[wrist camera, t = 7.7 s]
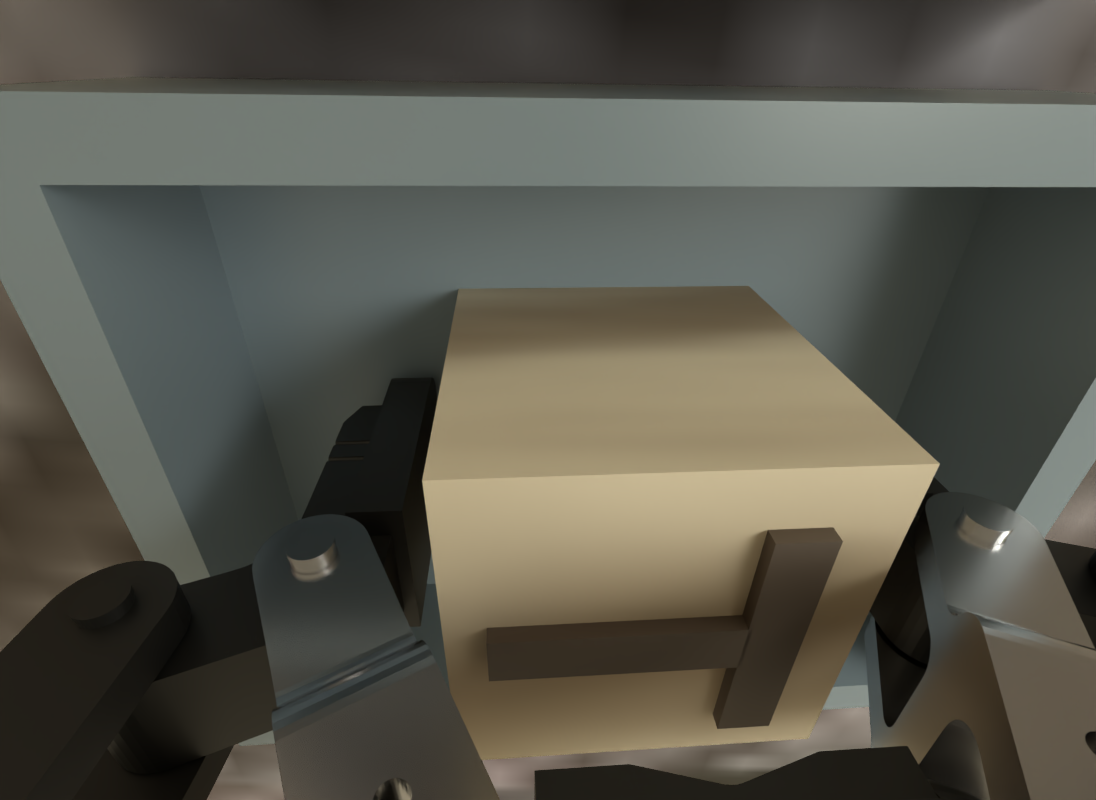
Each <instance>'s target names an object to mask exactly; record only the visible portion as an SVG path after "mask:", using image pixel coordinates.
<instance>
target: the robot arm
mask: <svg viewBox="0 0 1096 800" xmlns="http://www.w3.org/2000/svg"><path fill="white" fill-rule="evenodd" d="M436 405H437V393H436V386H435V381H434V378H433V377H427V378H392V379H391V381H390V384H389V387H388V390H387V392H386V395H385V398H384V401H383V404H382V405H374V406H362V407H361V408H359V409H358V410H357V411H356V412H355V413H354V414H353V415H351V416H350V417H349V418H348V419H347V420H346V421H344V422H343V425H342V427H341V429H340V432H339V434H338V436H337V439H336V441H335V445H333V448H332V450H331V452H330V455H329V457H328V458H329V460H328V461H326V464H325V466H324V468H323V471H322V473H321V475H320V478H319V480H318V482H317V484H316V487H315V489H314V491H313V494H312V496H311V498H310V500H309V503H308V505H307V507H306V510H305V512H304V514H303V516H302V519H301V520H298V521H296V522H293V523H291V524H289V525H287V526H285V527H283V528H282V529H280V530H279V531H277V532H276V533H274V534H273V535H272V536H271V537H270V538H268V539H267V541H266V542H265V543H264V544H263V545H262V546H261V548H260V549H259V550H258V552H257V554H256V556H255V558H254V561H253V563H252V564H250V565H247V566H245V567H242V568H239V569H236V570H233V571H229V572H226V573H222V574H218V575H215V576H211V577H208V578H204V579H200V580H197V581H193V582H189V583H186V584H182V585H180V584H179V582H178V580H177V578H176V576H175V574H174V572H173V571H172V570H171V569H170V568H169V567H167V566H165V565H164V564H161V563H158V562H152V561H133V562H126V563H122V564H117V565H114V566H111V567H108V568H105V569H102V570H99V571H97V572H95V573H92V574H90V575H88V576H86V577H84V578H82V579H81V580H79V581H77V582H75V583H74V584H72V585H71V586H69V587H68V588H66V589H65V590H63V591H62V592H61V593H59V594H58V595H57V596H56V597H55V598H53V599H52V600H51V601H50V602H49V603H48V604H47V605H46V606H45V607H44V608H43V609H42V610H41V611H40V612H39V613H38V614H37V615H36V616H35V617H34V618H33V619H32V620H31V621H30V622H29V623H28V624H27V625H26V626H25V627H24V628H23V629H22V630H21V631H20V633H19V634H18V635H17V636H16V637H15V638H14V639H13V640H12V641H11V642H10V643H9V644H8V645H7V646H6V647H5V648H4V649H3V650H2V651H1V652H0V800H206V799H207V797H208V796H209V794H210V792H211V790H212V788H213V786H214V784H215V782H216V780H217V778H218V776H219V774H220V772H221V770H222V768H223V766H224V764H225V762H226V760H227V758H228V756H229V754H230V752H231V750H232V748H233V746H234V745H235V744H238V743H240V742H243V741H246V740H248V739H251V738H254V737H256V736H259V735H262V734H264V733H267V732H270V731H272V730H273V734H274V740H275V746H276V752H277V758H278V763H279V769H280V775H281V781H282V786H283V792H284V798H285V800H500V799H499V797H498V795H497V793H496V790H495V788H494V786H493V784H492V782H491V780H490V777H489V775H488V773H487V771H486V769H485V767H484V764H483V762H482V760H481V758H480V756H479V754H478V751H477V749H476V747H475V745H474V743H473V741H472V738H471V736H470V734H469V732H468V730H467V728H466V725H465V723H464V721H463V719H462V717H461V715H460V712H459V710H458V708H457V706H456V704H455V702H454V700H453V697H452V695H451V693H450V691H449V689H448V687H447V684H446V682H445V680H444V678H443V676H442V674H441V671H440V669H439V667H438V665H437V663H436V661H435V659H434V656H433V654H432V653H431V651H430V649H429V647H428V646H427V644H426V643H425V642H424V641H423V640H420V641H418V642H417V640H416V639H415V637H414V635H413V633H412V631H411V628H410V627H420V626H421V621H422V614H423V607H424V600H425V593H426V586H427V579H428V572H429V565H430V558H431V544H430V536H429V529H428V521H427V514H426V506H425V499H424V491H423V483H422V479H423V473H424V468H425V463H426V458H427V452H428V447H429V442H430V437H431V431H432V426H433V421H434V416H435V410H436ZM870 613H871V614H872V615H871V617H870V619H869V621H868V623H867V625H866V628H865V635H864V637H865V652H866V667H867V681H868V696H869V711H870V725H871V748H865V749H850V750H835V751H820V752H817V753H814V754H812V755H810V756H807V757H805V758H802V759H800V760H798V761H795V762H793V763H790V764H788V765H786V766H783V767H781V768H778V769H776V770H774V771H771V772H769V773H766V774H764V775H762V776H759V777H757V778H754V779H752V780H750V781H747V782H745V783H742V784H738V785H724V784H719V783H714V782H710V781H705V780H700V779H696V778H691V777H686V776H682V775H677V774H672V773H668V772H663V771H658V770H654V769H649V768H644V767H639V766H635V765H630V764H627V765H612V766H597V767H583V768H568V769H553V770H538V771H535V800H1096V549H1094V548H1088V547H1083V546H1077V545H1072V544H1066V543H1061V542H1056V541H1050V540H1045V539H1044V538H1043V536H1042V534H1041V533H1040V532H1039V531H1038V530H1037V528H1036V527H1035V526H1033V525H1032V524H1031V523H1030V522H1029V521H1028V520H1026V519H1025V518H1024V517H1022V516H1021V515H1019V514H1018V513H1016V512H1015V511H1013V510H1011V509H1009V508H1007V507H1006V506H1004V505H1002V504H999V503H997V502H995V501H992V500H989V499H987V498H984V497H980V496H977V495H973V494H968V493H961V492H949V491H948V490H947V489H946V488H945V487H944V486H943V485H942V484H941V483H940V482H939V481H938V480H937V479H936V478H935V477H933V479H932V482H931V484H930V486H929V488H928V490H927V492H926V494H925V496H924V498H923V500H922V502H921V504H920V507H919V509H918V511H917V513H916V515H915V517H914V519H913V521H912V523H911V525H910V527H909V529H908V532H907V534H906V536H905V538H904V540H903V542H902V544H901V546H900V548H899V550H898V552H897V554H896V557H895V559H894V561H893V563H892V565H891V567H890V569H889V571H888V573H887V575H886V577H885V580H884V582H883V584H882V586H881V588H880V590H879V592H878V594H877V596H876V598H875V600H874V602H873V605H872V607H871V609H870Z"/></svg>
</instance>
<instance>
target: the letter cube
mask: <svg viewBox="0 0 1096 800" xmlns="http://www.w3.org/2000/svg"><path fill="white" fill-rule="evenodd" d="M939 465H940V463H939V462H937V461H936V460H935V459H934V458H933V457H932V456H931V455H930V454H929V453H928V452H927V451H926V450H925V449H923V448H922V447H921V446H920V445H919V444H918V443H917V442H916V441H915V440H914V439H913V438H912V437H911V436H910V435H908V434H907V433H906V432H905V431H904V430H903V429H902V428H901V427H900V426H899V425H898V424H897V423H896V422H894V421H893V420H892V419H891V418H890V417H889V416H888V415H887V414H886V413H885V412H884V411H883V410H882V409H881V408H879V407H878V406H877V405H876V404H875V403H874V402H873V401H872V400H871V399H870V398H869V397H868V396H867V395H865V394H864V393H863V392H862V391H861V390H860V389H859V388H858V387H857V386H856V385H855V384H854V383H853V382H852V381H850V380H849V379H848V378H847V377H846V376H845V375H844V374H843V373H842V372H841V371H840V370H839V369H838V368H836V367H835V366H834V365H833V364H832V363H831V362H830V361H829V360H828V359H827V358H826V357H825V356H824V355H823V354H821V353H820V352H819V351H818V350H817V349H816V348H815V347H814V346H813V345H812V344H811V343H810V342H809V341H807V340H806V339H805V338H804V337H803V336H802V335H801V334H800V333H799V332H798V331H797V330H796V329H795V328H794V327H792V326H791V325H790V324H789V323H788V322H787V321H786V320H785V319H784V318H783V317H782V316H781V315H780V314H778V313H777V312H776V311H775V310H774V309H773V308H772V307H771V306H770V305H769V304H768V303H767V302H766V301H764V300H763V299H762V298H761V297H760V296H759V295H758V294H757V293H756V292H755V291H754V290H753V289H752V288H751V287H749V286H683V287H583V288H484V289H459V290H458V295H457V300H456V305H455V311H454V316H453V321H452V326H451V332H450V337H449V342H448V347H447V353H446V358H445V363H444V368H443V374H442V379H441V384H440V389H439V395H438V400H437V405H436V410H435V416H434V421H433V426H432V431H431V437H430V442H429V447H428V452H427V458H426V463H425V468H424V473H423V479H422V483H423V491H424V499H425V506H426V514H427V521H428V529H429V536H430V544H431V552H432V559H433V567H434V574H435V582H436V589H437V597H438V605H439V612H440V620H441V627H442V635H443V642H444V650H445V658H446V665H447V673H448V680H449V688H450V693H451V695H452V697H453V700H454V702H455V704H456V706H457V708H458V710H459V712H460V715H461V717H462V719H463V721H464V723H465V725H466V728H467V730H468V732H469V734H470V736H471V738H472V741H473V743H474V745H475V747H476V749H477V751H478V754H479V756H480V758H481V760H488V759H503V758H519V757H534V756H549V755H564V754H580V753H595V752H610V751H625V750H641V749H656V748H671V747H686V746H702V745H717V744H732V743H747V742H763V741H778V740H793V739H808V738H809V736H810V734H811V732H812V730H813V728H814V725H815V723H816V721H817V719H818V717H819V715H820V713H821V711H822V709H823V707H824V705H825V703H826V700H827V698H828V696H829V694H830V692H831V690H832V688H833V686H834V684H835V682H836V680H837V677H838V675H839V673H840V671H841V669H842V667H843V665H844V663H845V661H846V659H847V657H848V655H849V652H850V650H851V648H852V646H853V644H854V642H855V640H856V638H857V636H858V634H859V632H860V630H861V627H862V625H863V623H864V621H865V619H866V617H867V615H868V613H869V611H870V609H871V607H872V605H873V602H874V600H875V598H876V596H877V594H878V592H879V590H880V588H881V586H882V584H883V582H884V580H885V577H886V575H887V573H888V571H889V569H890V567H891V565H892V563H893V561H894V559H895V557H896V554H897V552H898V550H899V548H900V546H901V544H902V542H903V540H904V538H905V536H906V534H907V532H908V529H909V527H910V525H911V523H912V521H913V519H914V517H915V515H916V513H917V511H918V509H919V507H920V504H921V502H922V500H923V498H924V496H925V494H926V492H927V490H928V488H929V486H930V484H931V482H932V479H933V477H934V475H935V473H936V471H937V469H938V467H939Z"/></svg>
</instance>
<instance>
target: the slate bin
mask: <svg viewBox="0 0 1096 800" xmlns="http://www.w3.org/2000/svg"><path fill="white" fill-rule="evenodd" d="M0 280H1V282H2V284H3V286H4V288H5V290H6V292H7V294H8V296H9V298H10V300H11V302H12V304H13V305H14V307H15V309H16V311H17V313H18V315H19V317H20V319H21V321H22V323H23V325H24V327H25V329H26V331H27V333H28V335H29V337H30V339H31V340H32V342H33V344H34V346H35V348H36V350H37V352H38V354H39V356H40V358H41V360H42V362H43V364H44V366H45V368H46V370H47V372H48V374H49V375H50V377H51V379H52V381H53V383H54V385H55V387H56V389H57V391H58V393H59V395H60V397H61V399H62V401H63V403H64V405H65V407H66V409H67V410H68V412H69V414H70V416H71V418H72V420H73V422H74V424H75V426H76V428H77V430H78V432H79V434H80V436H81V438H82V440H83V442H84V444H85V445H86V447H87V449H88V451H89V453H90V455H91V457H92V459H93V461H94V463H95V465H96V467H97V469H98V471H99V473H100V475H101V477H102V479H103V480H104V482H105V484H106V486H107V488H108V490H109V492H110V494H111V496H112V498H113V500H114V502H115V504H116V506H117V508H118V510H119V512H120V514H121V515H122V517H123V519H124V521H125V523H126V525H127V527H128V529H129V531H130V533H131V535H132V537H133V539H134V541H135V543H136V545H137V547H138V549H139V550H140V552H141V554H142V556H143V558H144V560H145V561H152V562H158V563H161V564H164V565H165V566H167V567H169V568H170V569H171V570H172V571H173V572H174V574H175V576H176V578H177V580H178V582H179V584H180V585H182V584H186V583H189V582H193V581H197V580H200V579H204V578H208V577H211V576H215V575H218V574H222V573H226V572H229V571H233V570H236V569H239V568H242V567H245V566H247V565H250V564H252V563H253V561H254V558H255V556H256V554H257V552H258V550H259V549H260V548H261V546H262V545H263V544H264V543H265V542H266V541H267V539H268V538H270V537H271V536H272V535H273V534H274V533H276V532H277V531H279V530H280V529H282V528H283V527H285V526H287V525H289V524H291V523H293V522H296V521H298V520H301V519H302V516H303V514H304V512H305V510H306V507H307V505H308V503H309V500H310V498H311V496H312V494H313V491H314V489H315V487H316V484H317V482H318V480H319V478H320V475H321V473H322V471H323V468H324V466H325V464H326V461H328V460H329V458H328V457H329V455H330V452H331V450H332V448H333V445H335V441H336V439H337V436H338V434H339V432H340V429H341V427H342V425H343V422H344V421H346V420H347V419H348V418H349V417H350V416H351V415H353V414H354V413H355V412H356V411H357V410H358V409H359V408H361V407H362V406H374V405H382V404H383V401H384V398H385V395H386V392H387V390H388V387H389V384H390V381H391V379H392V378H427V377H433V378H434V381H435V386H436V393H437V400H438V395H439V389H440V384H441V379H442V374H443V368H444V363H445V358H446V353H447V347H448V342H449V337H450V332H451V326H452V321H453V316H454V311H455V305H456V300H457V295H458V290H459V289H484V288H583V287H683V286H749V287H751V288H752V289H753V290H754V291H755V292H756V293H757V294H758V295H759V296H760V297H761V298H762V299H763V300H764V301H766V302H767V303H768V304H769V305H770V306H771V307H772V308H773V309H774V310H775V311H776V312H777V313H778V314H780V315H781V316H782V317H783V318H784V319H785V320H786V321H787V322H788V323H789V324H790V325H791V326H792V327H794V328H795V329H796V330H797V331H798V332H799V333H800V334H801V335H802V336H803V337H804V338H805V339H806V340H807V341H809V342H810V343H811V344H812V345H813V346H814V347H815V348H816V349H817V350H818V351H819V352H820V353H821V354H823V355H824V356H825V357H826V358H827V359H828V360H829V361H830V362H831V363H832V364H833V365H834V366H835V367H836V368H838V369H839V370H840V371H841V372H842V373H843V374H844V375H845V376H846V377H847V378H848V379H849V380H850V381H852V382H853V383H854V384H855V385H856V386H857V387H858V388H859V389H860V390H861V391H862V392H863V393H864V394H865V395H867V396H868V397H869V398H870V399H871V400H872V401H873V402H874V403H875V404H876V405H877V406H878V407H879V408H881V409H882V410H883V411H884V412H885V413H886V414H887V415H888V416H889V417H890V418H891V419H892V420H893V421H894V422H896V423H897V424H898V425H899V426H900V427H901V428H902V429H903V430H904V431H905V432H906V433H907V434H908V435H910V436H911V437H912V438H913V439H914V440H915V441H916V442H917V443H918V444H919V445H920V446H921V447H922V448H923V449H925V450H926V451H927V452H928V453H929V454H930V455H931V456H932V457H933V458H934V459H935V460H936V461H937V462H939V463H940V465H939V467H938V469H937V471H936V473H935V475H934V477H935V478H936V479H937V480H938V481H939V482H940V483H941V484H942V485H943V486H944V487H945V488H946V489H947V490H948V491H949V492H961V493H968V494H973V495H977V496H980V497H984V498H987V499H989V500H992V501H995V502H997V503H999V504H1002V505H1004V506H1006V507H1007V508H1009V509H1011V510H1013V511H1015V512H1016V513H1018V514H1019V515H1021V516H1022V517H1024V518H1025V519H1026V520H1028V521H1029V522H1030V523H1031V524H1032V525H1033V526H1035V527H1036V528H1037V530H1038V531H1039V532H1040V533H1041V534H1042V536H1043V538H1044V537H1045V536H1046V534H1047V533H1048V531H1049V530H1050V528H1051V527H1052V525H1053V524H1054V522H1055V521H1056V519H1057V518H1058V516H1059V515H1060V513H1061V512H1062V510H1063V509H1064V507H1065V506H1066V504H1067V503H1068V501H1069V500H1070V498H1071V496H1072V495H1073V493H1074V492H1075V490H1076V489H1077V487H1078V486H1079V484H1080V483H1081V481H1082V480H1083V478H1084V477H1085V475H1086V474H1087V472H1088V471H1089V469H1090V468H1091V466H1092V465H1093V463H1094V462H1095V460H1096V93H1079V92H1063V91H1047V90H980V89H910V88H840V87H769V86H699V85H629V84H559V83H489V82H419V81H349V80H278V79H208V78H138V77H130V78H111V79H93V80H75V81H57V82H39V83H21V84H2V85H0ZM871 615H872V614H871V613H870V611H869V613H868V615H867V617H866V619H865V621H864V623H863V625H862V627H861V630H860V632H859V634H858V636H857V638H856V640H855V642H854V644H853V646H852V648H851V650H850V652H849V655H848V657H847V659H846V661H845V663H844V665H843V667H842V669H841V671H840V673H839V675H838V677H837V680H836V682H835V684H834V686H833V688H832V690H831V692H830V694H829V696H828V698H827V700H826V703H825V705H824V707H823V709H822V710H825V709H841V708H857V707H869V696H868V681H867V667H866V652H865V637H864V635H865V628H866V625H867V623H868V621H869V619H870V617H871ZM410 628H411V631H412V633H413V635H414V637H415V639H416V640H417V642H418V641H420V640H423V641H424V642H425V643H426V644H427V646H428V647H429V649H430V651H431V653H432V654H433V656H434V659H435V661H436V663H437V665H438V667H439V669H440V671H441V674H442V676H443V678H444V680H445V682H446V684H447V687H448V689H449V691H450V688H449V680H448V673H447V665H446V658H445V650H444V642H443V635H442V627H441V620H440V612H439V605H438V597H437V589H436V582H435V574H434V567H433V559H432V552H431V558H430V565H429V572H428V579H427V586H426V593H425V600H424V607H423V614H422V621H421V626H420V627H410ZM262 744H275V740H274V734H273V730H272V731H270V732H267V733H264V734H262V735H259V736H256V737H254V738H251V739H248V740H246V741H243V742H240V743H239V745H240V746H246V745H262Z"/></svg>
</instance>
